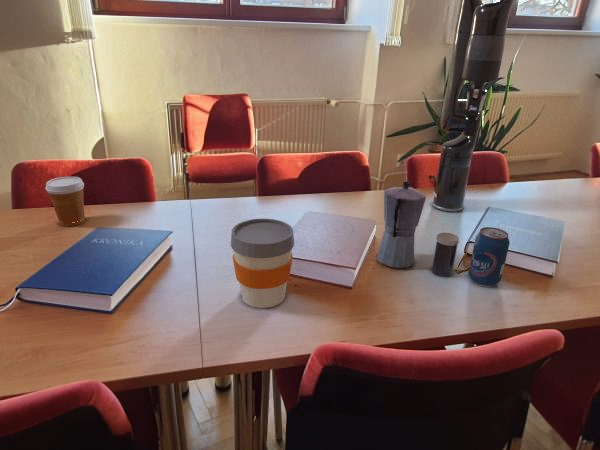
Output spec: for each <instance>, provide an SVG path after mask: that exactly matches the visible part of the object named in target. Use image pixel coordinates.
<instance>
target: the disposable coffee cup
mask: <svg viewBox="0 0 600 450" xmlns="http://www.w3.org/2000/svg"><path fill="white" fill-rule="evenodd" d="M84 187H85V182H84V181H83V179H82V178H81V177H78V176H61V177H56V178H52V179H50V180H48V181H47V182H46V183H45V187H44V189H45V191H46V192H47V193H48V195H49V198H50V201H51V204H52V207H53V210H54V212H55V215H56V217H57V220H58V222H59V221H60V222H59V225H60V226H62V227H75V226H79V225H81V224H83V223H85V220H86V219H85V203H84V202H85V200H84V197H85V196H84ZM83 218H84V219H83ZM82 219H83V220H82ZM80 220H81V221H80ZM77 221H78V222H77ZM61 222H62V223H61ZM72 222H75V223H72Z"/></svg>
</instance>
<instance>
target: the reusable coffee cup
mask: <svg viewBox="0 0 600 450" xmlns="http://www.w3.org/2000/svg"><path fill="white" fill-rule="evenodd" d="M230 235H231V236H230V247H231V250H232V251H233V254H232V262H233V267H234V273H235V278H236V280H237V282H238V284H239V289H240V294H241V299H242V301H243V302H244V303H245V304H246V305H248V306H250V307H253V308H258V309H267V308H272V307H275V306H277V305H279V304H281V303H282V302H283V301H284V299H285V296H286V289H287V284H288V281H289V279H290V277H291V270H292V265H293V258H294V255H293V252H292V251H293V248H294V247H295V235H294V229H293V227H292V226H291V224H289V223H287V222H285V221H282V220H278V219H274V218H252V219H247V220H244V221H241V222H238V223H237V224H236V225H234V226H233V227H232V229H231V234H230Z"/></svg>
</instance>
